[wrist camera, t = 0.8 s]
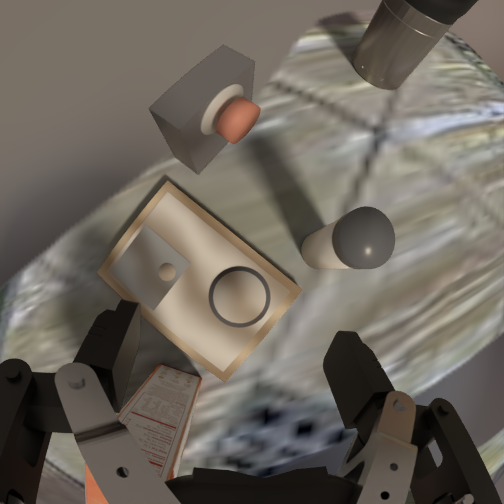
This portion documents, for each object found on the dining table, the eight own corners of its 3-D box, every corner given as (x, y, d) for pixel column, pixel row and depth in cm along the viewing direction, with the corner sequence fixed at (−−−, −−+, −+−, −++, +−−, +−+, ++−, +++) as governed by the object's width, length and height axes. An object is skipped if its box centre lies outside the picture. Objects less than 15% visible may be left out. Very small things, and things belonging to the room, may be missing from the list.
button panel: (226, 104, 35) (223, 44, 23) (252, 121, 35) (257, 62, 23) (175, 157, 34) (148, 108, 22) (200, 176, 34) (182, 131, 22)
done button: (245, 112, 28) (246, 88, 23) (259, 121, 28) (262, 98, 23) (217, 140, 27) (214, 119, 23) (231, 150, 27) (229, 130, 23)
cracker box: (182, 457, 31) (150, 569, 10) (141, 443, 31) (85, 543, 10) (206, 376, 32) (171, 492, 11) (159, 361, 32) (77, 453, 11)
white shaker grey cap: (315, 223, 34) (362, 194, 20) (344, 247, 34) (404, 233, 20) (292, 253, 34) (328, 241, 20) (321, 277, 34) (373, 281, 20)
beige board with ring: (170, 184, 34) (167, 179, 32) (299, 289, 33) (303, 289, 32) (102, 272, 33) (95, 272, 31) (225, 378, 32) (224, 383, 31)
